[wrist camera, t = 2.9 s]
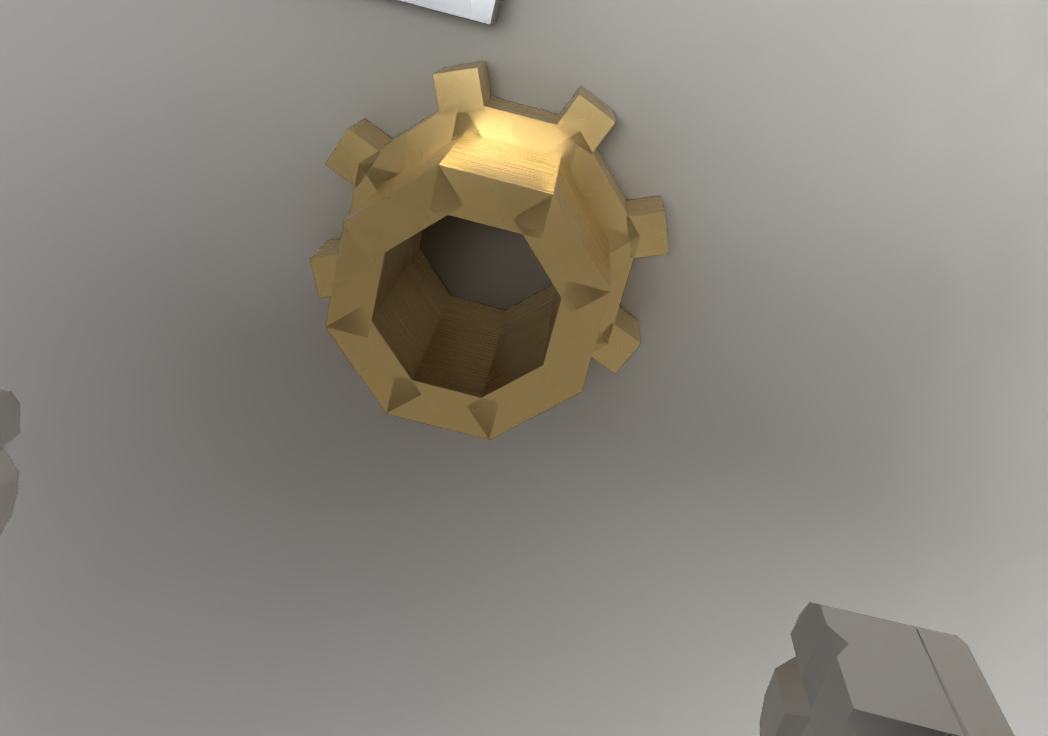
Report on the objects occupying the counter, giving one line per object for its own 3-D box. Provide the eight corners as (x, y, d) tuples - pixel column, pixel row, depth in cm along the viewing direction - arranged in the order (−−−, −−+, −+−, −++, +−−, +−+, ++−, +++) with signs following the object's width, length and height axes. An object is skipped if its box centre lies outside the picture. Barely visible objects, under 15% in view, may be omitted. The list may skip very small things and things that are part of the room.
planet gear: (607, 420, 23) (608, 530, 19) (309, 344, 23) (237, 437, 19) (701, 118, 20) (730, 160, 16) (363, 28, 20) (293, 46, 16)
